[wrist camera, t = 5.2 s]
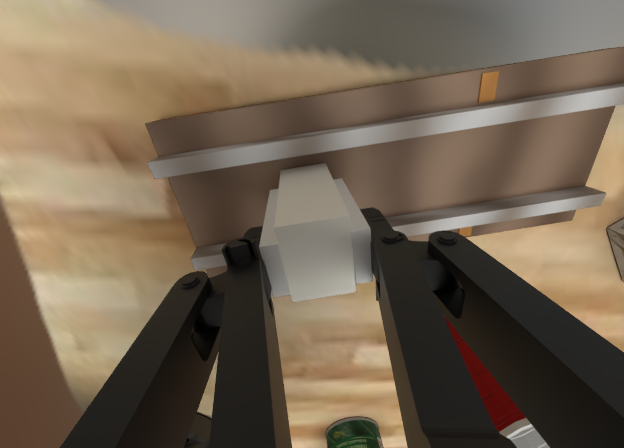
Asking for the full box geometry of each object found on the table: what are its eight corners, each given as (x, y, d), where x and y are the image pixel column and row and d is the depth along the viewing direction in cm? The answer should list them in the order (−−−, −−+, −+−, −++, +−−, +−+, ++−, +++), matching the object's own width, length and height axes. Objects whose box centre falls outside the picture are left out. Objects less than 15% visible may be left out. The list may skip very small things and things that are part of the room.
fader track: (215, 263, 23) (204, 290, 20) (159, 119, 17) (131, 127, 14) (550, 210, 23) (590, 229, 20) (603, 49, 17) (670, 40, 14)
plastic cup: (521, 315, 29) (652, 444, 19) (452, 369, 33) (528, 502, 23) (455, 279, 26) (569, 411, 15) (387, 344, 30) (441, 485, 19)
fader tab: (291, 222, 19) (291, 302, 12) (280, 170, 17) (274, 227, 10) (331, 216, 19) (356, 292, 12) (325, 162, 17) (349, 215, 10)
